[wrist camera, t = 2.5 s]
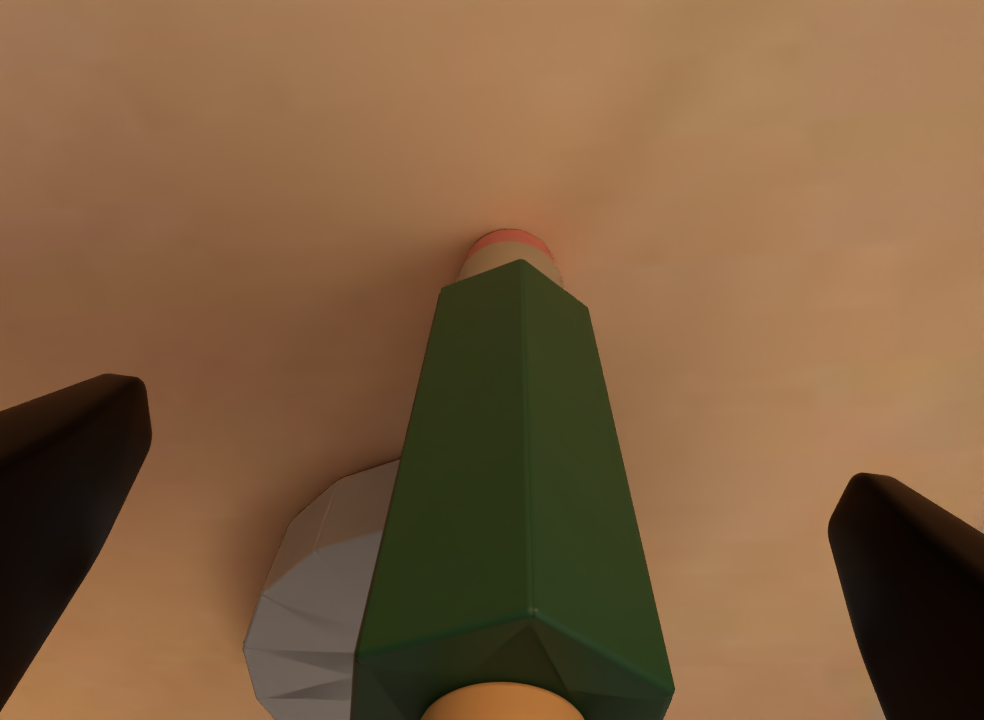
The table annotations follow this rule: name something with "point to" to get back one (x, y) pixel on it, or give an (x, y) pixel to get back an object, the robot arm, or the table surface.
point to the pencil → (510, 521)
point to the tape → (318, 600)
